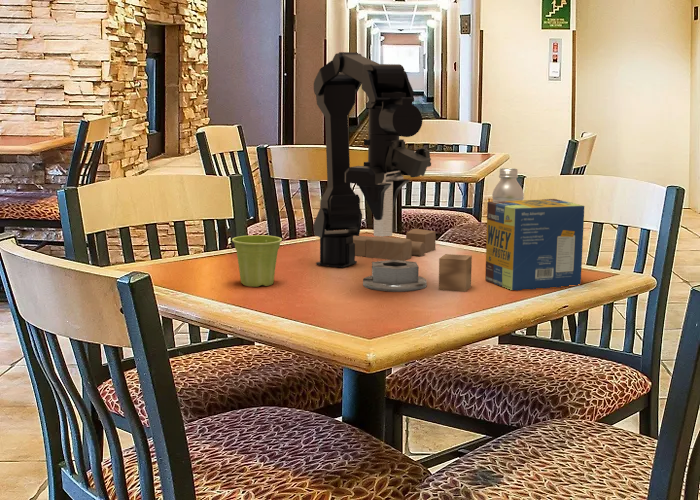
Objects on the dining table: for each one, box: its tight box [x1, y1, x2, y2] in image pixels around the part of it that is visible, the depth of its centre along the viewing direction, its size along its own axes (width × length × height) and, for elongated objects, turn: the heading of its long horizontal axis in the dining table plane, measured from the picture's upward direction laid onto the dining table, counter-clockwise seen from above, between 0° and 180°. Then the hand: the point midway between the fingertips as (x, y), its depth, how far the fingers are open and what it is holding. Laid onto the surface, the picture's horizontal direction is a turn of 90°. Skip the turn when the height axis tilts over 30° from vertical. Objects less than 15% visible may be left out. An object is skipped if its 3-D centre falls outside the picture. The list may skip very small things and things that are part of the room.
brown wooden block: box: [438, 253, 473, 293], centre depth 185 cm, size 5×5×6 cm
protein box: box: [484, 198, 585, 291], centre depth 189 cm, size 10×15×16 cm
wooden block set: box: [353, 228, 437, 261], centre depth 224 cm, size 17×6×18 cm
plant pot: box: [231, 234, 283, 288], centre depth 187 cm, size 9×9×9 cm
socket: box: [362, 259, 428, 293], centre depth 187 cm, size 12×12×4 cm
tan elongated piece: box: [373, 180, 394, 237], centre depth 184 cm, size 4×3×10 cm
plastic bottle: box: [491, 167, 525, 202], centre depth 210 cm, size 6×7×20 cm
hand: (382, 218), depth 184 cm, fingers closed on tan elongated piece, 3 cm apart
